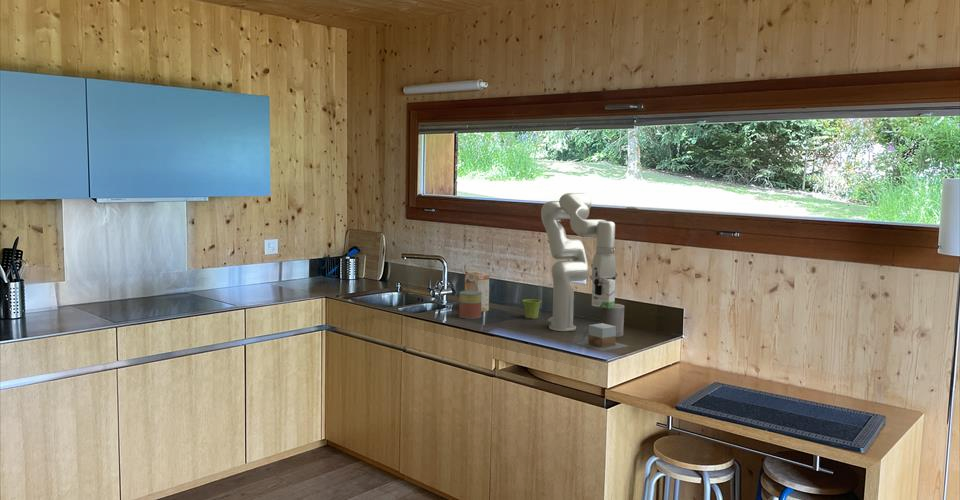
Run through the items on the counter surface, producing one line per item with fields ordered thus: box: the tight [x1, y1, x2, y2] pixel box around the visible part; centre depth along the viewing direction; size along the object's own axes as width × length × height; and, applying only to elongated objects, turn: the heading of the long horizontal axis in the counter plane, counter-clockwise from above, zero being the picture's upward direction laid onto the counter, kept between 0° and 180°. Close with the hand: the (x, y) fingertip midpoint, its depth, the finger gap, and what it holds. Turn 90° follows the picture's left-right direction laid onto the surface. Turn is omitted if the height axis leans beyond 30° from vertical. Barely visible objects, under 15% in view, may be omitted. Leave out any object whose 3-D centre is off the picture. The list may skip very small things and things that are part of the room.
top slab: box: [588, 322, 616, 338], centre depth 304 cm, size 8×8×4 cm
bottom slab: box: [587, 334, 617, 348], centre depth 305 cm, size 8×8×4 cm
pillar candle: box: [601, 303, 625, 338], centre depth 323 cm, size 10×10×15 cm
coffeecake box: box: [464, 269, 490, 313], centre depth 380 cm, size 15×7×20 cm, turn 28°
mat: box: [575, 340, 628, 352], centre depth 305 cm, size 16×16×1 cm
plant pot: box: [522, 298, 542, 320], centre depth 360 cm, size 9×9×9 cm
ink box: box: [591, 278, 616, 309], centre depth 302 cm, size 8×5×12 cm, turn 46°
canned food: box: [458, 290, 482, 320], centre depth 360 cm, size 11×11×12 cm
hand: (603, 293), depth 302 cm, fingers closed on ink box, 5 cm apart
